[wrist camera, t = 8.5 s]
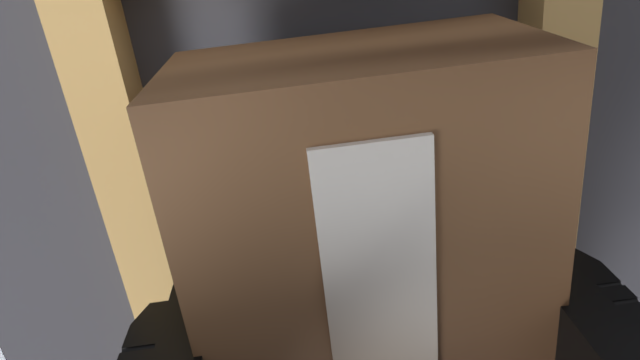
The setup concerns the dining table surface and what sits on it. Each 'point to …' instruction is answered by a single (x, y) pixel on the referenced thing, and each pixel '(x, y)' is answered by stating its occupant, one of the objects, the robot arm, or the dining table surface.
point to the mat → (126, 170)
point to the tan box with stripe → (371, 190)
